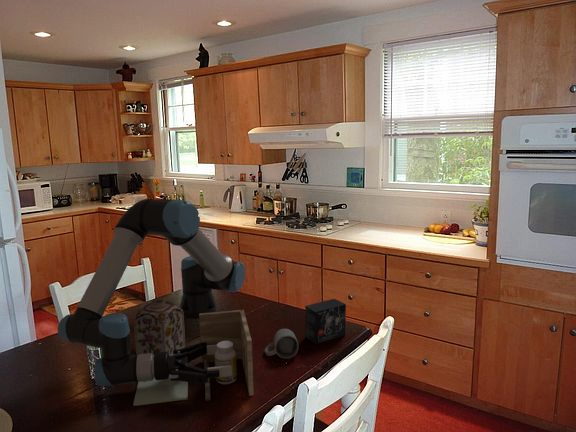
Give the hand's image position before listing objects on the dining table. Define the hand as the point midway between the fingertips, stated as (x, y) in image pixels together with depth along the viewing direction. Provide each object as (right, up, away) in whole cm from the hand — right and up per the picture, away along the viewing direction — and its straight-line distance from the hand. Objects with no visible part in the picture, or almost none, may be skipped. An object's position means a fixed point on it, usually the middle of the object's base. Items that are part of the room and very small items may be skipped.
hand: (230, 358), depth 132 cm
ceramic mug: (+15, -4, +16) cm, 22 cm away
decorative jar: (-25, -4, +19) cm, 32 cm away
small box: (+30, -1, +28) cm, 41 cm away
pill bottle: (-1, -7, +1) cm, 7 cm away
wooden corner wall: (-2, -6, +2) cm, 7 cm away
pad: (-19, -7, -2) cm, 20 cm away
